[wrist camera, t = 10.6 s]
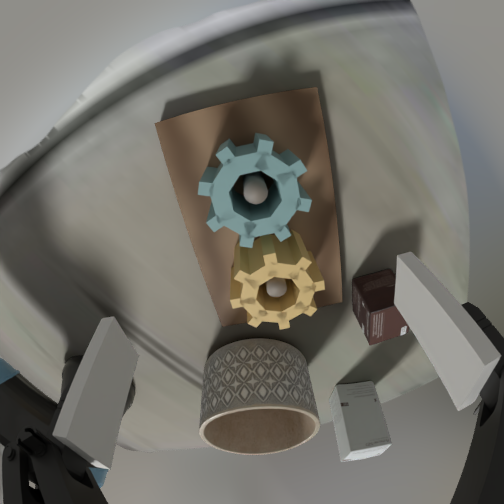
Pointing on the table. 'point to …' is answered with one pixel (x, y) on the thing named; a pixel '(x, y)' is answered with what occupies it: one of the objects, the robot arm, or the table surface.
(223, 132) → the gear board
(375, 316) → the box
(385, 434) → the skincare box
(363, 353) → the table surface
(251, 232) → the gear
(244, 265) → the gear out
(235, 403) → the planter
